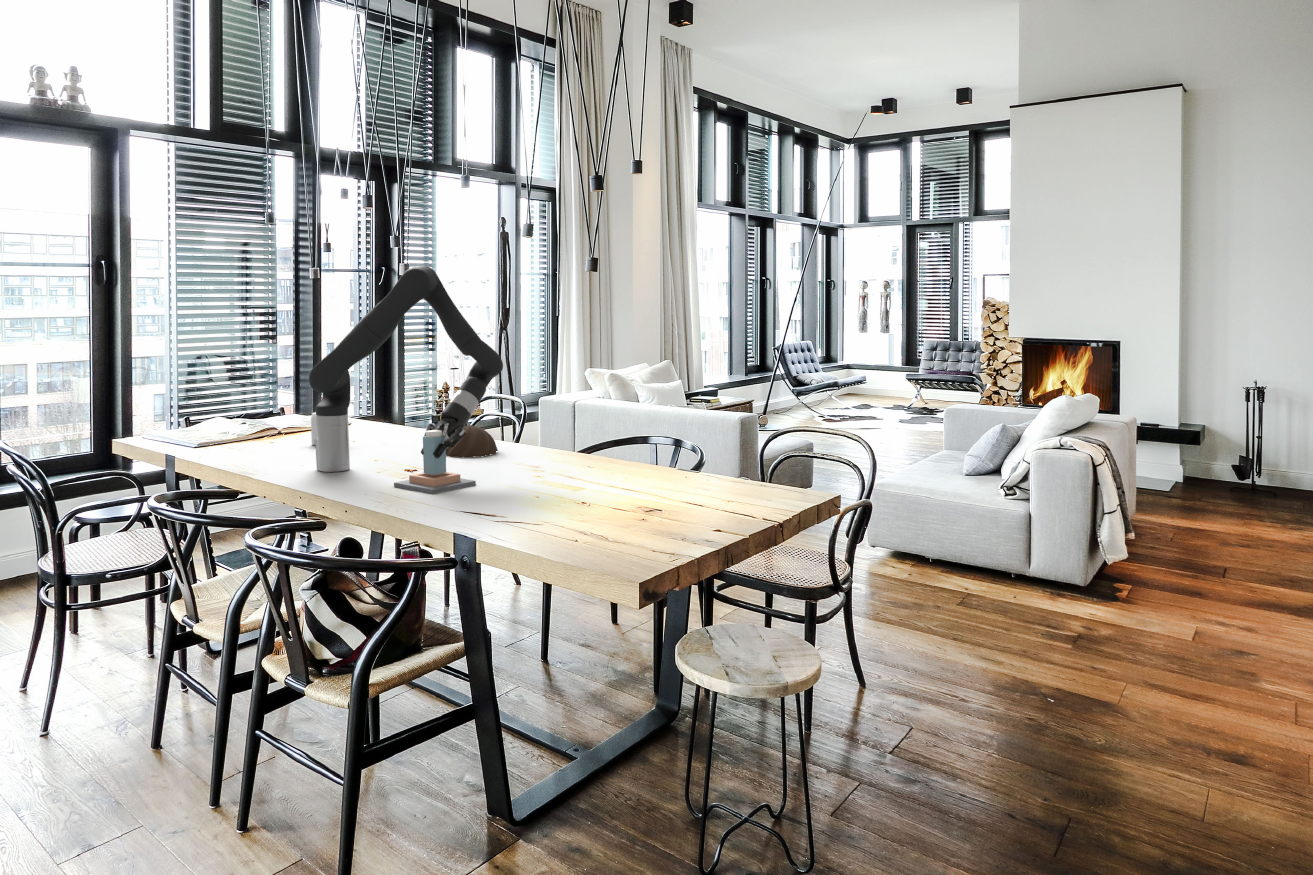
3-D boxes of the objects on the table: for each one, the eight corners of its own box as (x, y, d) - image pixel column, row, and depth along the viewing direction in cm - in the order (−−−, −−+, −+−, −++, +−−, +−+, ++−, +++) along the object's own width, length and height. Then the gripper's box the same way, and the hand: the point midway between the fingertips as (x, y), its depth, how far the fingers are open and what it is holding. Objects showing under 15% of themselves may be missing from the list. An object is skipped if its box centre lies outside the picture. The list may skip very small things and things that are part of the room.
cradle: (394, 486, 253) (393, 475, 252) (437, 478, 266) (436, 467, 266) (433, 494, 244) (432, 482, 244) (475, 484, 257) (475, 473, 257)
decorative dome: (509, 453, 314) (509, 424, 313) (466, 460, 299) (465, 430, 297) (473, 447, 326) (472, 420, 324) (429, 453, 310) (428, 425, 309)
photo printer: (339, 442, 331) (338, 409, 329) (342, 443, 328) (341, 410, 326) (310, 444, 326) (309, 410, 324) (313, 445, 322) (311, 411, 320)
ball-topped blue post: (423, 473, 254) (422, 431, 252) (435, 470, 258) (434, 429, 256) (434, 475, 252) (433, 432, 250) (446, 472, 255) (445, 431, 253)
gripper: (436, 399, 262) (404, 445, 254) (470, 402, 254) (439, 450, 246) (450, 415, 267) (419, 461, 259) (484, 419, 259) (454, 466, 251)
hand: (429, 455), depth 252 cm, fingers closed on ball-topped blue post, 4 cm apart
